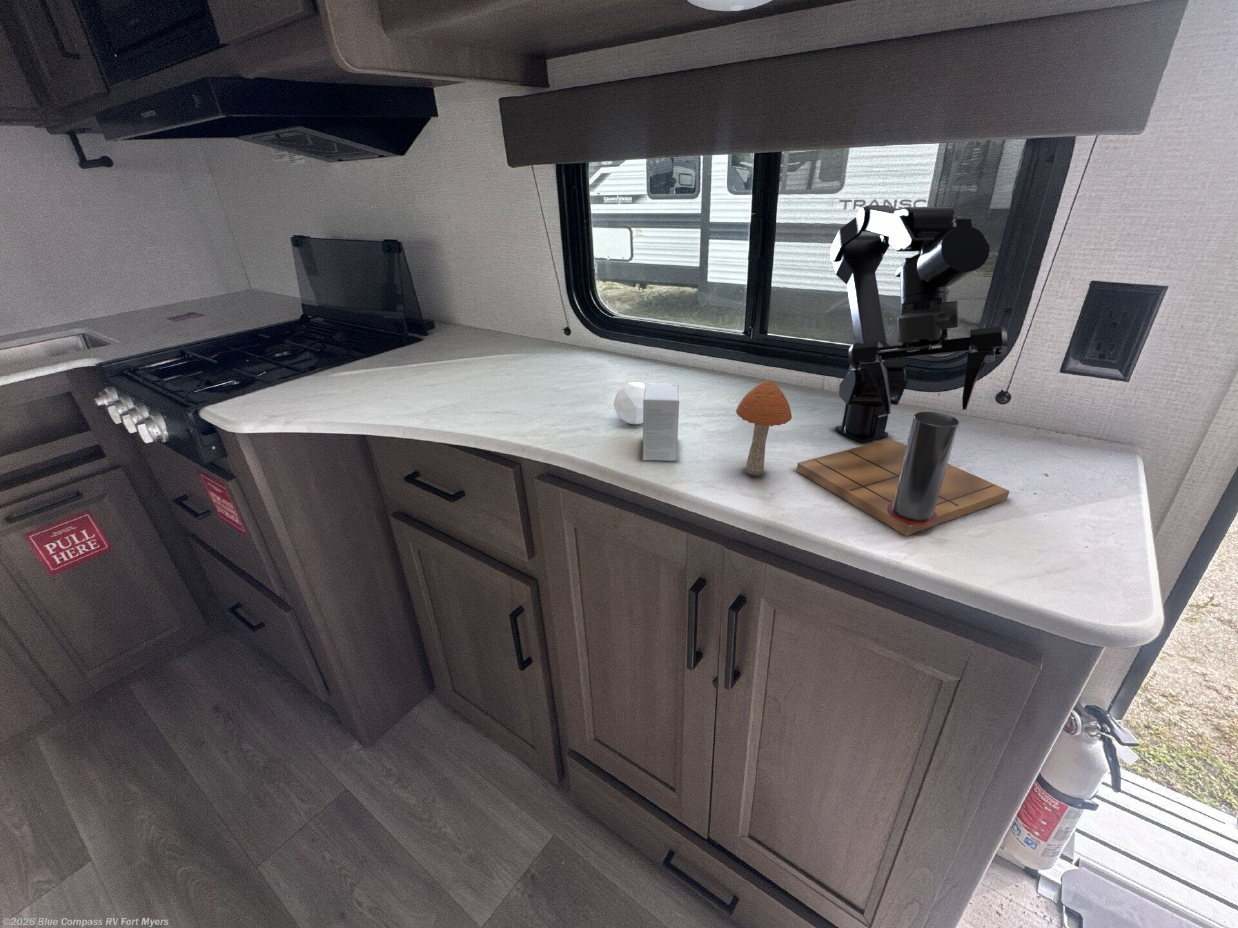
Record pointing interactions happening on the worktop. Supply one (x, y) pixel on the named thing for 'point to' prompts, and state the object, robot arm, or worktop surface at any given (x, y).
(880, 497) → the board
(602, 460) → the worktop surface
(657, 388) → the small box
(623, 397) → the geometric ball
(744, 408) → the mushroom
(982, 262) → the robot arm
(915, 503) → the black cylinder
